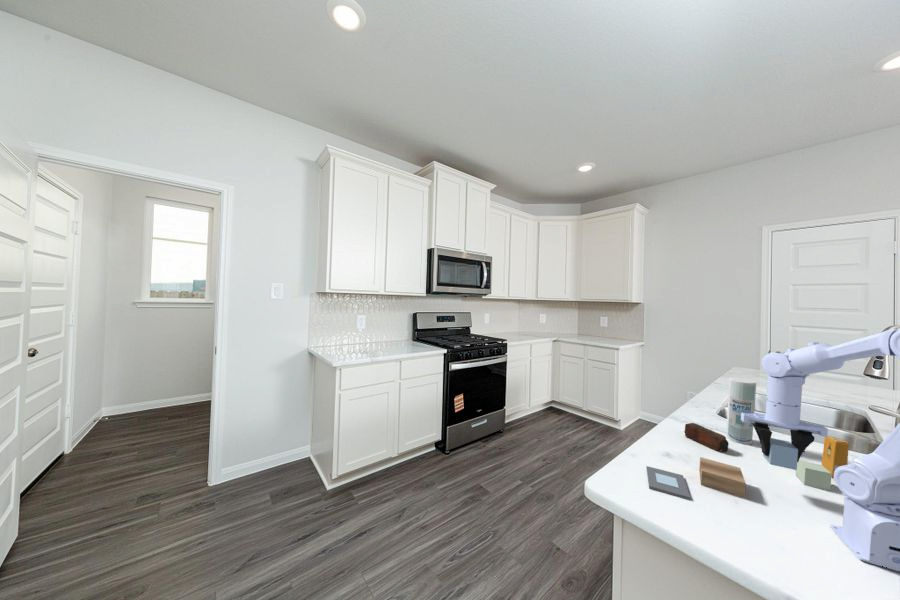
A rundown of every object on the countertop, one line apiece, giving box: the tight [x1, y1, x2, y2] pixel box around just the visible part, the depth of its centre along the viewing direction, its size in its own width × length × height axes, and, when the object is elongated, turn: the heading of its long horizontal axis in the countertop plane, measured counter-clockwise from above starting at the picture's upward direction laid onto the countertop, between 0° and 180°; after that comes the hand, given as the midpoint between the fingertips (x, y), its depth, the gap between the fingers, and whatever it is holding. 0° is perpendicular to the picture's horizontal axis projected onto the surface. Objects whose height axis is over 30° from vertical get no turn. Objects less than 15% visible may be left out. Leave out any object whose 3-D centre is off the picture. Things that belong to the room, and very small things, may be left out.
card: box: [646, 465, 691, 501], centre depth 78 cm, size 10×8×1 cm
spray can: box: [725, 376, 757, 445], centre depth 102 cm, size 6×6×20 cm
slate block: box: [762, 437, 798, 471], centre depth 76 cm, size 4×4×5 cm
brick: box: [683, 422, 730, 453], centre depth 99 cm, size 11×4×5 cm, turn 18°
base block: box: [698, 456, 746, 499], centre depth 78 cm, size 8×8×4 cm
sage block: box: [795, 459, 832, 492], centre depth 79 cm, size 4×4×4 cm
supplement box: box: [821, 435, 850, 479], centre depth 83 cm, size 3×3×10 cm
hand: (779, 456), depth 76 cm, fingers closed on slate block, 4 cm apart
